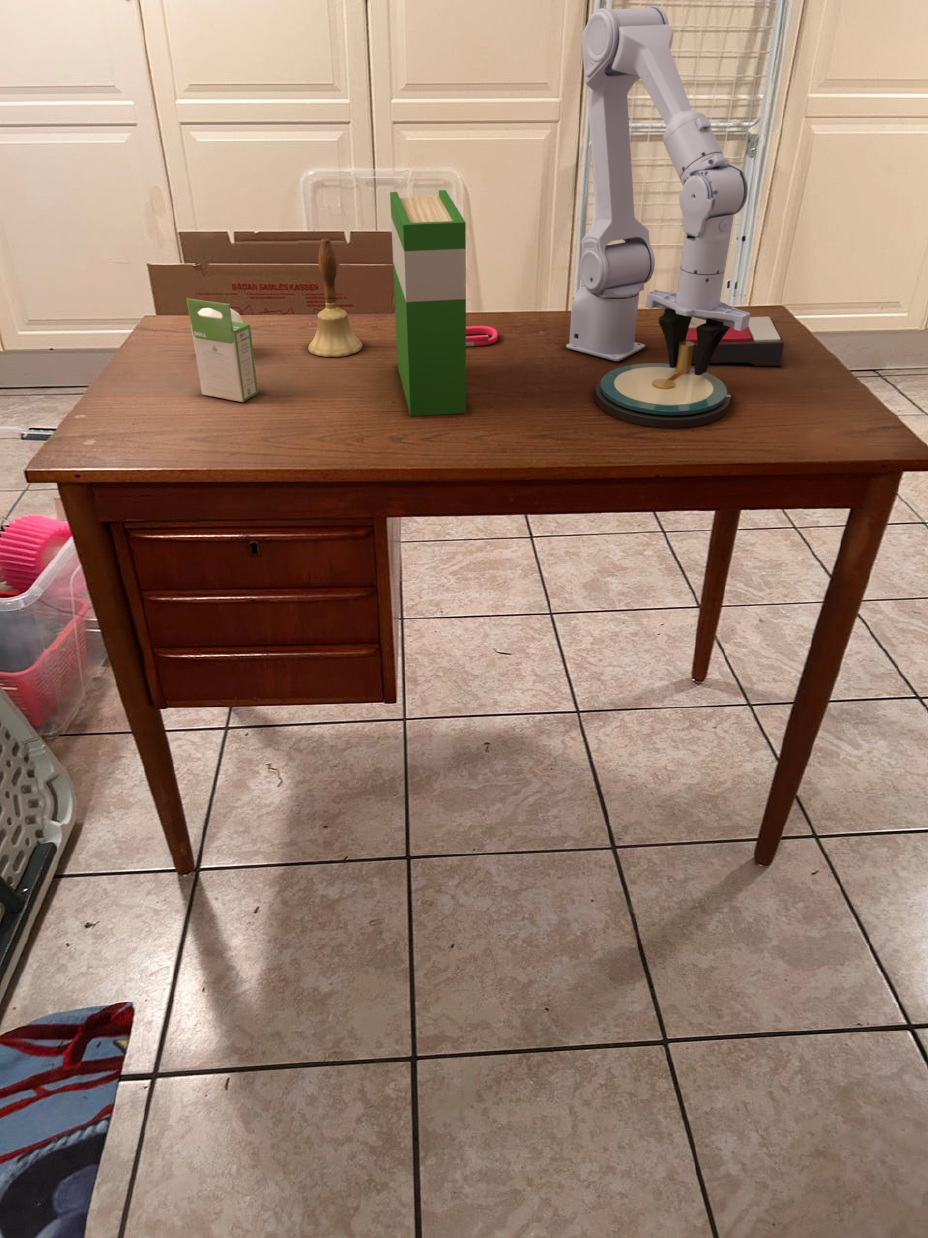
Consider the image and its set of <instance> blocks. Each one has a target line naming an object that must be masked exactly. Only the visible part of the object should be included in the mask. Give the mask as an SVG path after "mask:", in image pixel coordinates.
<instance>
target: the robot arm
mask: <svg viewBox="0 0 928 1238" xmlns="http://www.w3.org/2000/svg"><path fill="white" fill-rule="evenodd" d="M673 40H674V30H673V28H672V26H671V25H670V23H669V18H668V15H667V14H666V12H665V11H664V9H663V8H662V7H660V6H657V5H652V6H649V7H635V8H633V7H632V8H615V9H613V8H610V9H608V8H606V7H605V8H603V7H601V8H598V9H596V10H595V11H593V12H592V14H591V16H590V17H589V19H588V21H587V23H586V26H585V27H584V30H583V31H582V34H581V48H582V50H581V51H582V63H583V75H584V84H585V85H586V95H587V109H588V121H589V122H588V123H589V136H590V137H589V138H590V148H591V151H590V152H591V162H592V163H591V164H592V177H593V188H594V189H593V191H594V192H593V193H594V202H595V203H594V204H595V216H596V217H595V219H596V222H595V224H594V225H593V226H592V227H591V228H590V230H589V231H588V232H587V233H586V234H585V235H584V236H583V237H582V239H581V257H580V261H579V276H580V280H581V281H582V284H583V285H582V286H580V287H579V288H578V290H576V292H575V293H574V297H573V300H572V303H571V310H570V311H571V312H570V327H569V341H568V342H569V343H567V344H566V349H569V350H572V351H576V352H579V353H583V354H587V355H591V356H594V357H597V358H602V359H605V360H609V361H613V362H620V361H623V360H625V359H627V358H628V357H630V356H632V355H634V354H636V353H637V352H640V351H641V350H644V349H645V348H646V344H644V343H640V342H638V341H637V342H636V341H635V338H636V329H637V319H638V310H639V301H640V292H642V291H644V290H645V284H647V283H648V282H649V281H651V279H652V277H653V275H654V273H655V265H656V260H655V253H654V250H653V248H652V245H651V242H650V241H651V240H650V231H649V229H648V228H647V227H646V226H645V225H643V224H642V222H640V221H639V220H638V219H637V218H636V217H635V204H634V203H635V201H634V200H635V199H634V188H633V187H634V185H633V184H634V183H633V167H632V155H631V137H630V136H631V133H630V120H629V102H628V101H629V100H628V94H629V92H630V91H631V88H633V86H634V84H635V83H636V82H639V81H640V80H641V82H642V85H643V87H644V88H645V89H646V92H647V93H648V95H649V97H650V99H651V101H652V102H653V105H654V106H655V108H656V110H657V111H658V113H659V115H660V118H661V119H662V120H663V123H664V124H665V130H664V132H663V137H662V143H663V145H664V147H665V149H666V152H667V154H668V157H669V158H670V160H671V163H672V165H673V167H674V169H675V171H676V175H677V177H678V178H679V181H680V183H681V185H682V190H679V193H678V200H679V207H680V210H681V213H682V222H681V227H682V232H683V233H684V235H683V236H684V237H683V243H682V244H683V245H682V251H681V258H680V259H681V260H680V267H679V274H678V281H677V289H676V292H671V291H663V290H658V289H653V290H651V291H649V292H647V293H646V301H645V307H646V308H648V309H655V308H656V309H658V310H659V309H660V310H664V312H663V314H662V315H660V316H659V317H658V324H659V326H660V329H661V331H662V333H663V336H664V339H665V343H666V347H667V353H668V364H670V367H671V368H675V367H676V364H677V356H678V349H679V343H680V342H682V341H686V336H687V332H688V328H689V325H690V322H691V319H692V317H695V318H698V319H702V320H706V323H703V324H701V325H699V326H697V328H696V331H697V356H696V363H695V364H694V368H695V375H698V376H700V375H701V374H703V373H705V372H707V371H708V368H709V366H710V364H711V363H710V360H711V358H712V356H713V354H714V352H715V350H716V348H717V346H718V344H719V343H720V341H721V340H722V338H723V337H724V335H725V334H726V332H727V331H728V330H729V329H730V327H734V330H738V331H742V330H744V329H746V328H748V325H749V319H750V317H751V312H748V311H744V310H741V309H739V308H737V307H734V306H733V305H729V304H727V303H725V302H723V301H721V300H722V299H721V298H722V293H723V285H724V279H725V273H726V267H727V266H726V265H727V261H728V254H729V248H730V241H731V236H732V230H733V223H734V217H735V215H736V214H738V213H739V212H741V211H742V210H743V208H744V206H745V204H746V202H747V200H748V196H749V195H748V193H749V186H748V181H747V177H746V173H745V171H744V169H743V168H742V167H740V166H739V165H737V164H734V163H732V161H731V159H729V158H725V156H724V153H723V150H722V148H721V146H720V144H719V142H718V140H717V138H716V135H715V134H714V133H715V132H713V129H712V127H711V126H712V124H711V121H710V120H709V118H708V117H706V115H705V114H704V113H702V112H699V111H694V110H692V107H691V104H690V101H689V98H688V95H687V93H686V90H685V88H684V84H683V82H682V79H681V77H680V73H679V71H678V68H677V65H676V62H675V59H674V57H673V54H672V51H671V50H672V46H673ZM615 241H624V242H618V243H612V242H615ZM610 243H612V244H610Z"/></svg>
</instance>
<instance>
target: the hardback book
mask: <svg viewBox="0 0 928 1238" xmlns="http://www.w3.org/2000/svg"><path fill="white" fill-rule="evenodd" d="M389 198H390V221H391V239H392V240H391V243H392V244H391V245H392V246H391V247H392V267H393V288H394V291H393V292H394V308H395V311H394V312H395V332H396V333H395V334H396V351H397V352H396V355H397V357H396V358H397V369H398V373H399V377H400V381H401V384H402V389H403V393H404V396H405V400H406V404H407V408H408V412H409V416H410V417H423V416H438V415H452V414H453V415H454V414H455V415H456V414H466V413H467V347H466V336H467V335H466V327H467V268H466V267H467V259H466V258H467V249H466V248H467V245H466V244H467V243H466V242H467V241H466V240H467V239H466V237H467V234H466V231H467V230H466V229H467V227H466V226H467V224H466V220H465V218H464V217H463V216H462V214H461V212H460V211H459V209H458V208H457V206H456V205H455V203H454V201H453V200H452V198H451V197H450V195H449V193H448V192H447V190H446V189H439V190H438V196H423V197H422V196H420V197H400V195H399V193H398V191H390V192H389Z"/></svg>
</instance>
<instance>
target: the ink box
mask: <svg viewBox="0 0 928 1238" xmlns="http://www.w3.org/2000/svg"><path fill="white" fill-rule="evenodd" d="M186 305H187V309H188V315H189V318H190V319H189V320H190V329H191V335H192V341H193V346H194V347H193V348H194V353H195V359H196V365H197V371H198V379H199V384H200V389H201V395H203V396H209V397H214V398H219V399H223V400H229V401H234V402H240V403H244V402H246V401H248V400H249V399H251V398H254V397H255V396H257V395H258V394H259V389H258V380H257V372H256V363H255V356H254V355H255V354H254V347H253V336H252V329H251V324H250V323H245V322H243V323H240V322H234V321H232V318H231V310H230V308H231V304H230V303H224V302H218V301H209V300H202V299H196V298H189V297H187V298H186ZM202 308H211V309H214V310H216V311H218V312H220V313H221V314H222V317H221V318H218V317H210V316H203V315H199V313H198V312H199V311H200V310H201V309H202Z"/></svg>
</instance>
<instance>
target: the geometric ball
mask: <svg viewBox="0 0 928 1238" xmlns="http://www.w3.org/2000/svg"><path fill="white" fill-rule="evenodd" d="M230 310H231V318H232V321H234V322H240V323H244V321H243V319H242V316H241V315H240V313H239V312H238V311H236V310H235V309H233V308H231V307H230ZM198 313H199V315H203V316H210V317H218V318H221V317H222V314H221V313H220V312H218V311H216V310H214V309H211V308H202V309H199V310H198Z"/></svg>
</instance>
